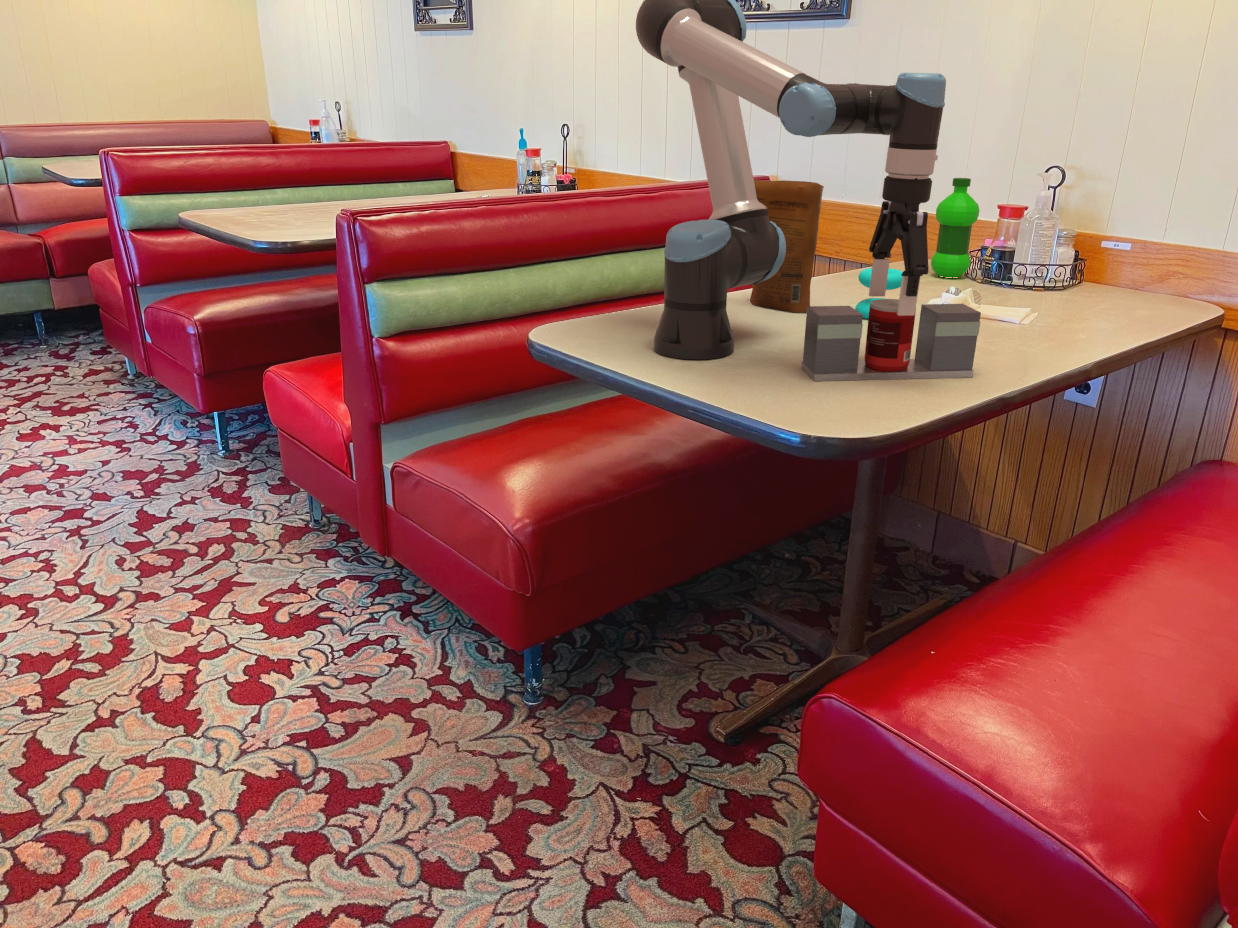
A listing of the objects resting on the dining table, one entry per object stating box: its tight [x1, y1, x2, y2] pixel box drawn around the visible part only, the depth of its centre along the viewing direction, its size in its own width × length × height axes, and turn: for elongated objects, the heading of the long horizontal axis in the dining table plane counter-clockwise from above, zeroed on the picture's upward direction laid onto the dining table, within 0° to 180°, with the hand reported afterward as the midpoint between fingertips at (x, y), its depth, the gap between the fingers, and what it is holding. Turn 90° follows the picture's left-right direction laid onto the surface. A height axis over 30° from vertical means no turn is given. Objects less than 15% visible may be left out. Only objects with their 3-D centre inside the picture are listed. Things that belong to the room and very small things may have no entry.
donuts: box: [854, 267, 903, 320], centre depth 201 cm, size 10×10×10 cm
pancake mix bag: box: [749, 179, 824, 314], centre depth 205 cm, size 7×19×28 cm, turn 46°
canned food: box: [864, 298, 917, 372], centre depth 160 cm, size 8×8×11 cm
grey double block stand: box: [801, 303, 982, 382], centre depth 160 cm, size 28×8×11 cm, turn 96°
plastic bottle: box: [930, 177, 980, 278], centre depth 241 cm, size 10×10×25 cm
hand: (890, 305), depth 158 cm, fingers open, 13 cm apart
